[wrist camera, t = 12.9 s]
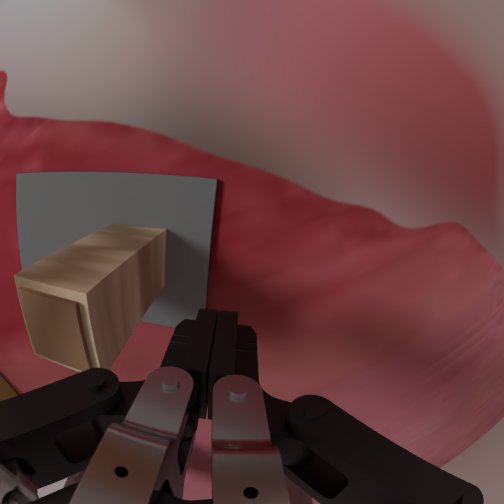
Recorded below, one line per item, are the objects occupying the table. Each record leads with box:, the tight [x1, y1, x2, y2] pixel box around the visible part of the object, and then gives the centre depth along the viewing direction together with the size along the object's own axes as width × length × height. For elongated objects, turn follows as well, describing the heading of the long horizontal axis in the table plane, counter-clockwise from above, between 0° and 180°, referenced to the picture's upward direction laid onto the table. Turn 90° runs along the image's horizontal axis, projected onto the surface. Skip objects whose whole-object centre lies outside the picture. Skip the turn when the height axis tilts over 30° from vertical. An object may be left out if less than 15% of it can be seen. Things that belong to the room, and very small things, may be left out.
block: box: [14, 223, 167, 372], centre depth 13 cm, size 4×4×10 cm
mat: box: [16, 172, 218, 328], centre depth 18 cm, size 18×11×1 cm, turn 83°
